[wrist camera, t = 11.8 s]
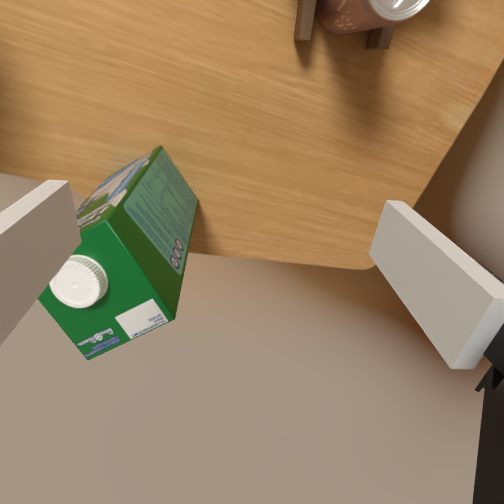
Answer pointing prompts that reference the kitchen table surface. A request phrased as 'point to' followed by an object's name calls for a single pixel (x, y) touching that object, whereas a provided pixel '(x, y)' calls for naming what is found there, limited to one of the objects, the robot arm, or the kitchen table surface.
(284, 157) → the kitchen table surface
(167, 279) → the milk carton
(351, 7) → the beverage can
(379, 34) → the bracket
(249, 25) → the kitchen table surface
